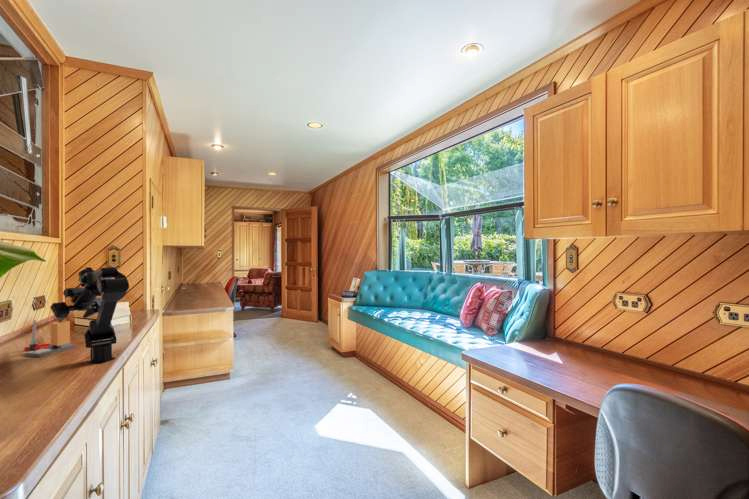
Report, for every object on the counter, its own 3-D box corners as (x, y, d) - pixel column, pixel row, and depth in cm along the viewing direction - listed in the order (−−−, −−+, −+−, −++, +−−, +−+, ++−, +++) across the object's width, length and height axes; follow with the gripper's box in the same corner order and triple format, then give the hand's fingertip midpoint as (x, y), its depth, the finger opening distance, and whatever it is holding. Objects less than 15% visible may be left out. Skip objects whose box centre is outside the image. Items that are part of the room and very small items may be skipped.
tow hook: (41, 345, 160) (21, 350, 151) (42, 317, 161) (23, 320, 151) (60, 345, 160) (41, 350, 151) (61, 317, 161) (42, 320, 152)
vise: (74, 347, 155) (74, 336, 155) (38, 357, 141) (38, 344, 141) (61, 346, 157) (61, 335, 157) (24, 356, 143) (24, 343, 143)
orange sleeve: (69, 343, 154) (69, 321, 154) (57, 345, 150) (57, 323, 150) (63, 342, 156) (63, 321, 156) (50, 344, 152) (50, 323, 152)
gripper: (103, 279, 157) (87, 302, 161) (53, 283, 140) (36, 309, 143) (115, 297, 154) (98, 321, 158) (65, 304, 137) (48, 329, 141)
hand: (71, 319), depth 150 cm, fingers open, 9 cm apart
